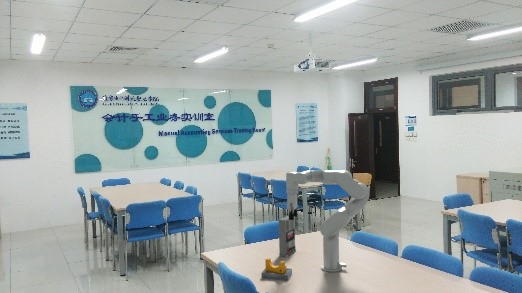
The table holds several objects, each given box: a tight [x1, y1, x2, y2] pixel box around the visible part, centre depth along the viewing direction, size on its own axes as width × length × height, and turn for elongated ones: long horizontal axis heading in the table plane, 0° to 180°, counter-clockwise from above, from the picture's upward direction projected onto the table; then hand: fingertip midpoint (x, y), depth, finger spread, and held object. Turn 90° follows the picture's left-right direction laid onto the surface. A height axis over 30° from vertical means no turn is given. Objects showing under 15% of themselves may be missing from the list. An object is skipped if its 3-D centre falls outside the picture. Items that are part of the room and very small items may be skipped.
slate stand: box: [261, 267, 293, 281], centre depth 241 cm, size 16×11×3 cm
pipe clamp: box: [264, 258, 288, 273], centre depth 242 cm, size 12×4×6 cm, turn 56°
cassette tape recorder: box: [278, 215, 297, 257], centre depth 283 cm, size 14×6×25 cm, turn 148°
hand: (293, 218), depth 258 cm, fingers open, 9 cm apart
